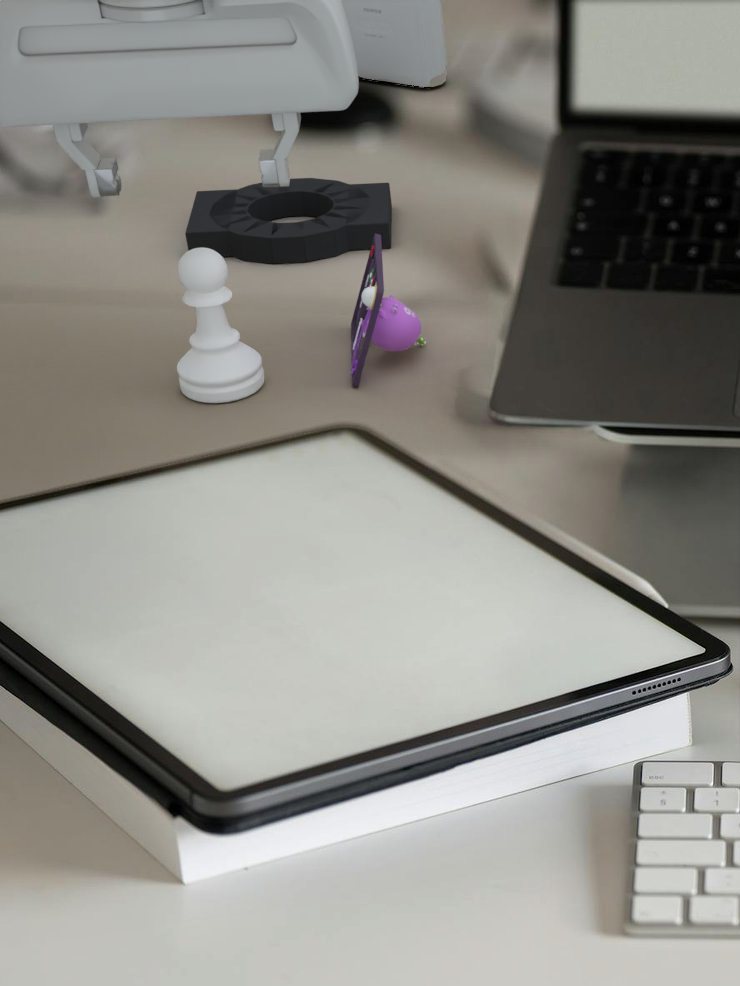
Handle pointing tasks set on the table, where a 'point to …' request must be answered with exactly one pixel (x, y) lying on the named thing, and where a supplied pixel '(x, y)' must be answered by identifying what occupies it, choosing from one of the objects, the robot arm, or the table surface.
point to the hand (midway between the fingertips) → (192, 188)
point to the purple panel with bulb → (379, 316)
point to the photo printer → (397, 39)
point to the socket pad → (250, 237)
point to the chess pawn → (214, 336)
